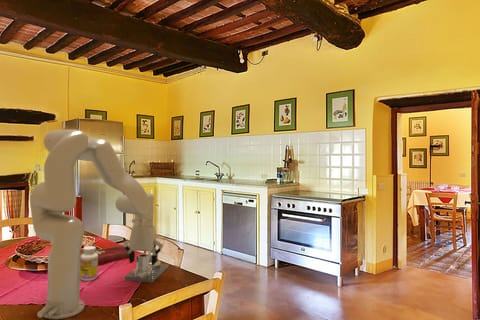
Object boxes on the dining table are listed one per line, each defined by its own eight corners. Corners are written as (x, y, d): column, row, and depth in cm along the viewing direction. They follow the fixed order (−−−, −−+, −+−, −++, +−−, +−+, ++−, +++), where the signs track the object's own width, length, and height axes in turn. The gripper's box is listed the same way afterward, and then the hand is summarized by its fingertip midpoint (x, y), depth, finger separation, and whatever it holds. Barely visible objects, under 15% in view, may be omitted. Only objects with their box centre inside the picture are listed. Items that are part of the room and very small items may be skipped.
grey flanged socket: (147, 278, 138) (147, 259, 137) (129, 276, 139) (130, 257, 138) (154, 272, 145) (155, 253, 145) (137, 270, 146) (138, 252, 146)
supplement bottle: (76, 279, 138) (77, 248, 138) (90, 274, 144) (90, 244, 144) (87, 282, 135) (88, 250, 135) (100, 277, 141) (101, 247, 140)
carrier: (152, 282, 137) (152, 264, 137) (124, 280, 139) (125, 262, 139) (168, 267, 156) (169, 251, 156) (143, 265, 158) (144, 249, 157)
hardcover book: (133, 258, 168) (133, 249, 168) (90, 267, 154) (90, 258, 154) (122, 252, 177) (123, 244, 177) (81, 260, 162) (81, 251, 162)
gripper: (120, 223, 139) (119, 264, 139) (160, 226, 136) (159, 267, 137) (128, 219, 146) (127, 258, 147) (166, 222, 144) (165, 261, 144)
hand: (142, 263), depth 142 cm, fingers open, 9 cm apart
